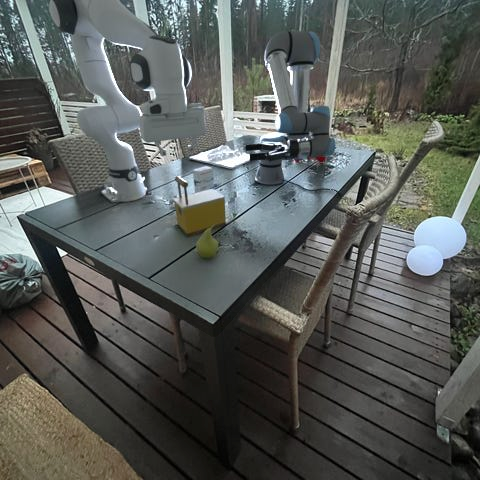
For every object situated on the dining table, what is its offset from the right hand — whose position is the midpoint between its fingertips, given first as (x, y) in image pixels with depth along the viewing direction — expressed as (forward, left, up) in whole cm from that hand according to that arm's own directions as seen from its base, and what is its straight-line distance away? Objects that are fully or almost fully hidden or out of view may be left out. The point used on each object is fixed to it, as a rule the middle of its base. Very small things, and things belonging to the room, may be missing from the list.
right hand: (247, 152), depth 112 cm
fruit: (-1, +45, -22) cm, 50 cm away
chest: (+9, +28, -22) cm, 36 cm away
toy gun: (-20, -65, -22) cm, 72 cm away
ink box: (+22, -1, -22) cm, 31 cm away
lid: (+10, +28, -11) cm, 32 cm away
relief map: (+34, -57, -22) cm, 70 cm away
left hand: (+13, +33, +7) cm, 36 cm away
